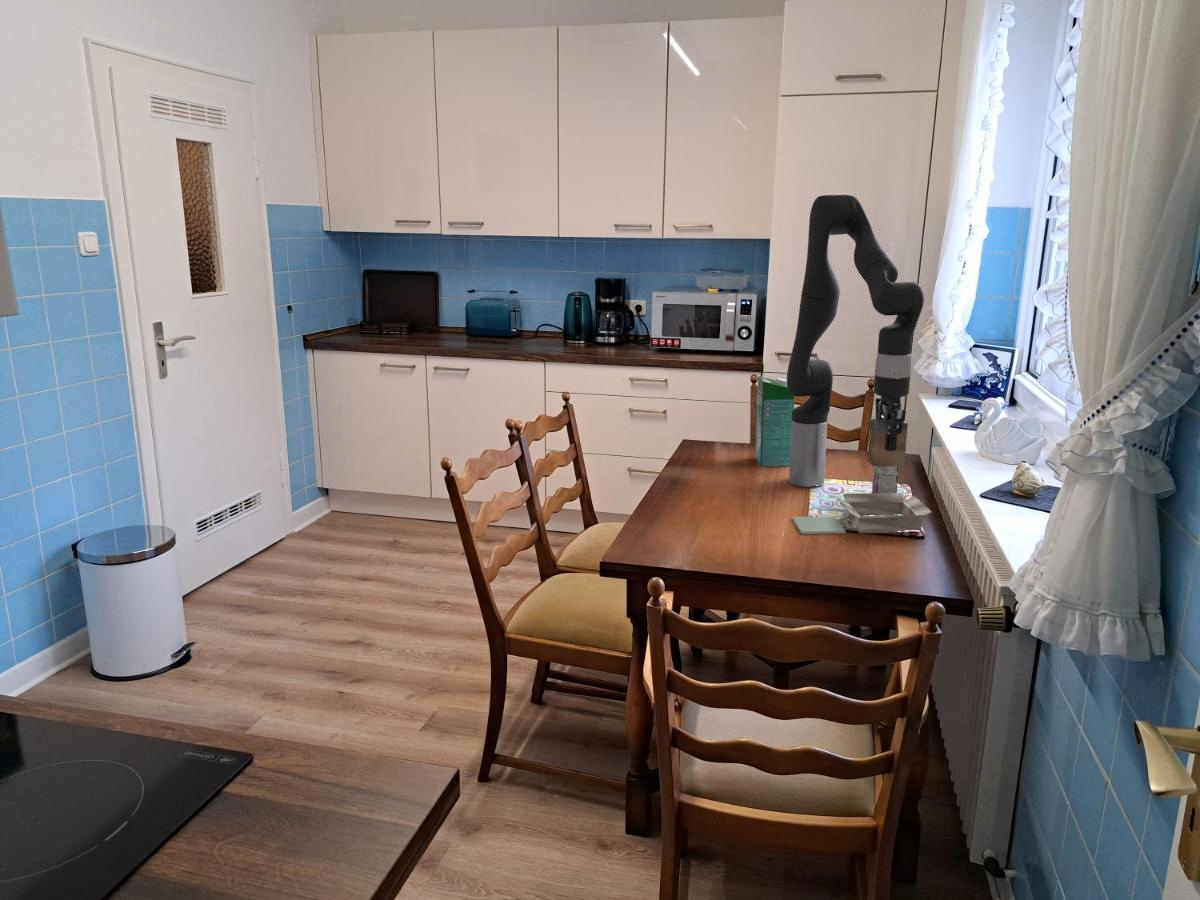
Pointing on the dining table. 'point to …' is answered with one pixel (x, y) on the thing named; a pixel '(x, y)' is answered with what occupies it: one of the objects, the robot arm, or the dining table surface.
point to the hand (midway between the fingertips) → (886, 447)
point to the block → (878, 442)
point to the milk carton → (773, 422)
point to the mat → (818, 525)
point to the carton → (883, 512)
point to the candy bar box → (885, 479)
